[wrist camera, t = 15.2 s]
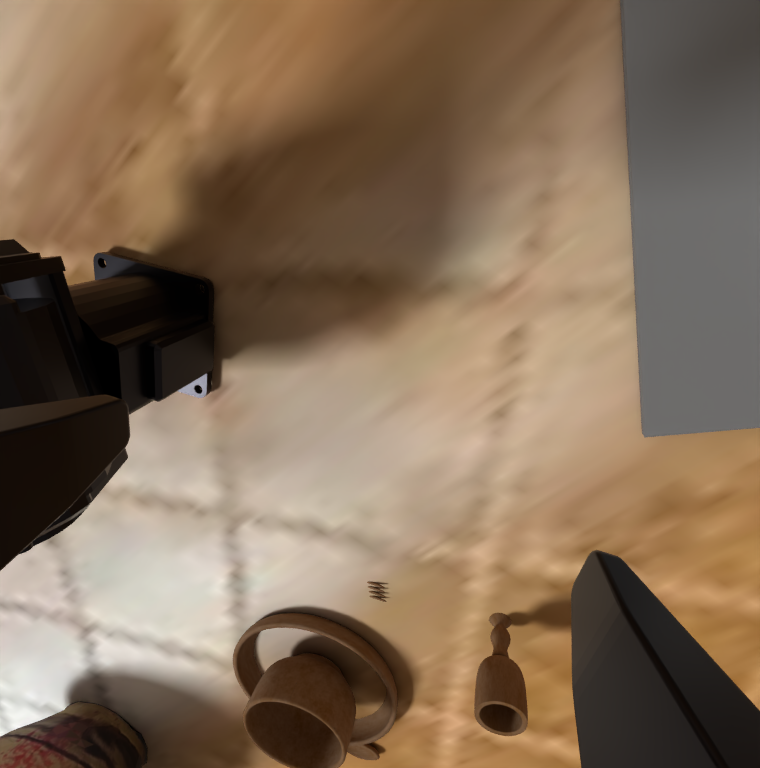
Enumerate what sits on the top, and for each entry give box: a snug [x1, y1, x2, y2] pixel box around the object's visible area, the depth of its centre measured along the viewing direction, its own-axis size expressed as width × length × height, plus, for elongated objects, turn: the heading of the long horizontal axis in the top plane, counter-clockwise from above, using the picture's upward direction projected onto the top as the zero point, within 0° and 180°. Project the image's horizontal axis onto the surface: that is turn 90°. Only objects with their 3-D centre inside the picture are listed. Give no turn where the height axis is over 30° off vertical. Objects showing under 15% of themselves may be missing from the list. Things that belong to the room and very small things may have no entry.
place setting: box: [233, 582, 528, 768], centre depth 28 cm, size 18×20×6 cm
